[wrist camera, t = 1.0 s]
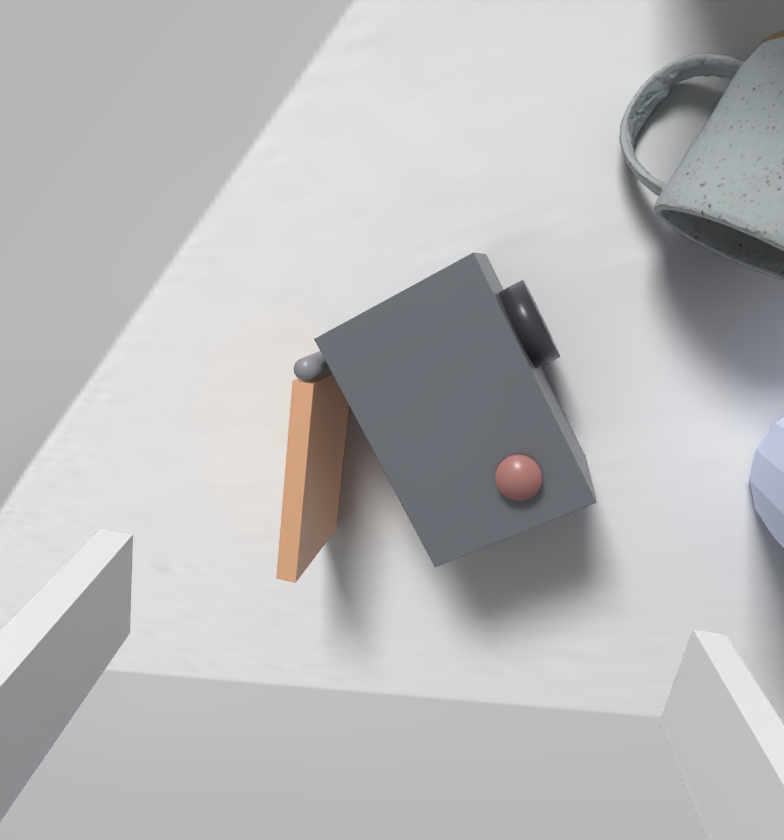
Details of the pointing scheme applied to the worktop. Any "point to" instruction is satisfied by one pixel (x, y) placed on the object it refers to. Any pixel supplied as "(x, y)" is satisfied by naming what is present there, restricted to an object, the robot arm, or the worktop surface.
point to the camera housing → (462, 408)
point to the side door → (311, 465)
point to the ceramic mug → (725, 158)
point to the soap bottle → (770, 480)
